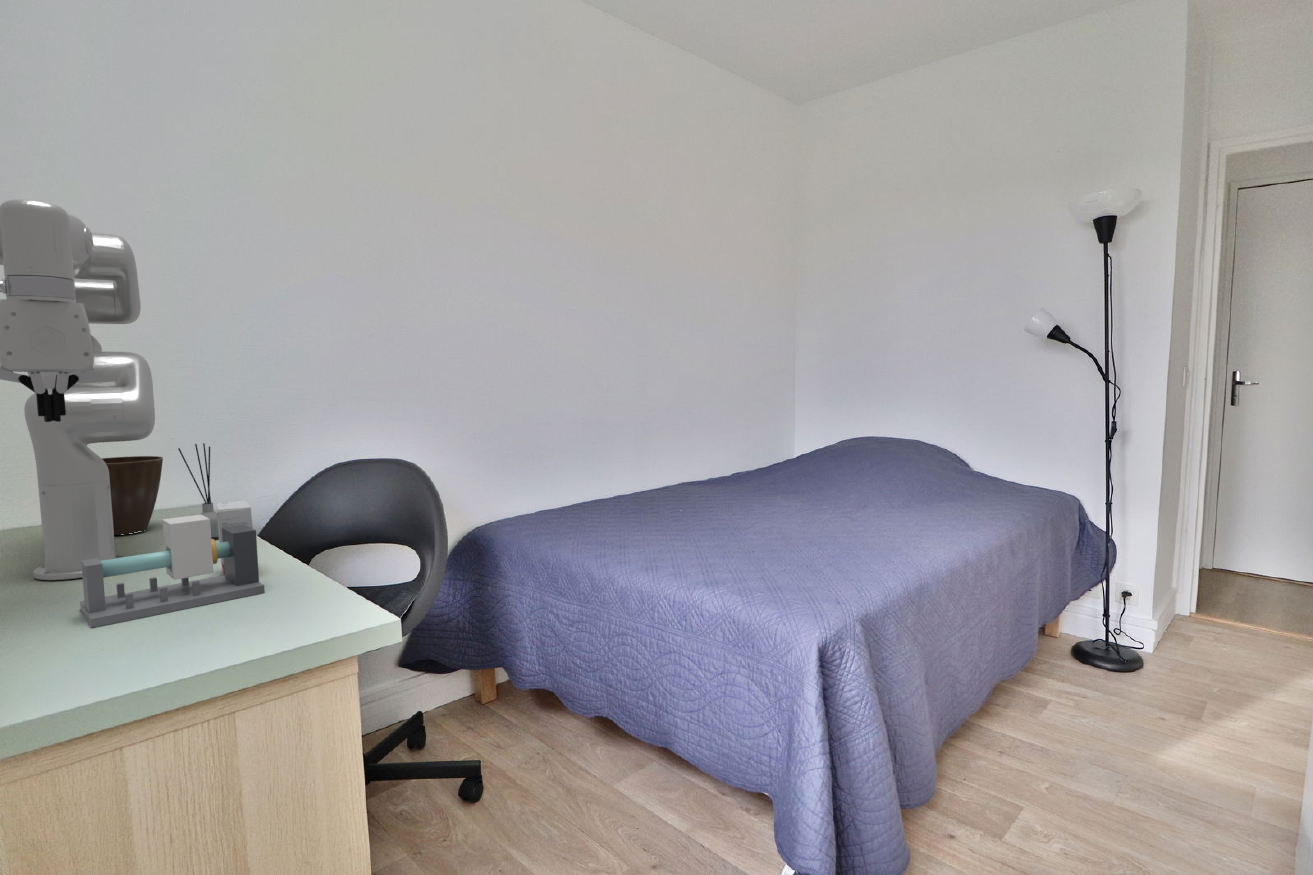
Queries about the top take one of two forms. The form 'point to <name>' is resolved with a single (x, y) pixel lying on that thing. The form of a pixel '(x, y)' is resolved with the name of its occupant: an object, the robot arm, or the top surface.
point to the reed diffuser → (206, 506)
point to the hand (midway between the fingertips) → (52, 421)
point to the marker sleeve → (188, 546)
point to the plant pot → (133, 491)
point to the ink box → (233, 517)
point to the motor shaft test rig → (187, 594)
